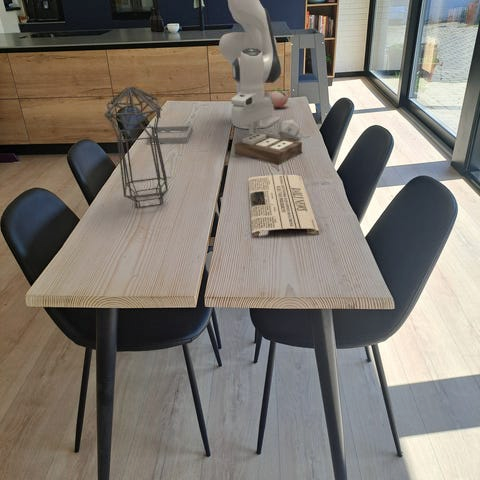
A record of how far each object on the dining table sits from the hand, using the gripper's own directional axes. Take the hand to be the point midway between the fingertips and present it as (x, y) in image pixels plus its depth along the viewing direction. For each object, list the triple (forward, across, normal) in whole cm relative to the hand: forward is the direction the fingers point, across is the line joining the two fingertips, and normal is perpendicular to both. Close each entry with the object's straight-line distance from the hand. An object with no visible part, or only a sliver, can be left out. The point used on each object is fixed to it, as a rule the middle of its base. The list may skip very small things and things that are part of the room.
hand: (253, 133), depth 175 cm
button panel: (+7, -1, +6) cm, 9 cm away
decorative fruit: (+5, -57, -31) cm, 65 cm away
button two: (+6, -1, +13) cm, 14 cm away
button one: (+6, -1, +6) cm, 8 cm away
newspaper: (+9, +32, +38) cm, 50 cm away
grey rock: (+7, -19, +3) cm, 21 cm away
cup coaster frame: (+7, +6, -42) cm, 43 cm away
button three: (+5, -1, 0) cm, 5 cm away
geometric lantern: (+9, +54, +2) cm, 55 cm away
